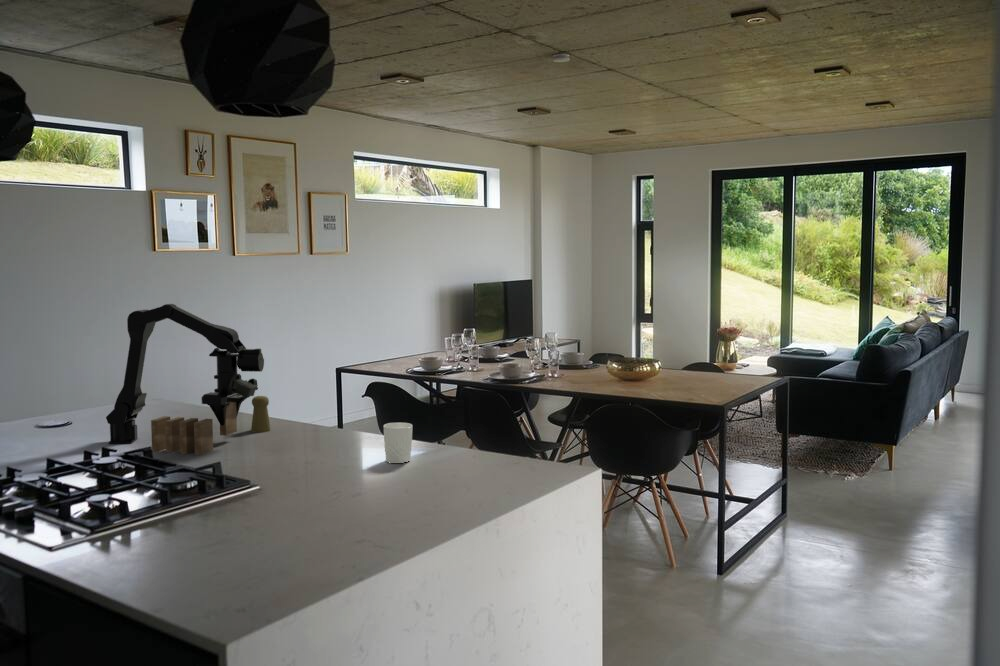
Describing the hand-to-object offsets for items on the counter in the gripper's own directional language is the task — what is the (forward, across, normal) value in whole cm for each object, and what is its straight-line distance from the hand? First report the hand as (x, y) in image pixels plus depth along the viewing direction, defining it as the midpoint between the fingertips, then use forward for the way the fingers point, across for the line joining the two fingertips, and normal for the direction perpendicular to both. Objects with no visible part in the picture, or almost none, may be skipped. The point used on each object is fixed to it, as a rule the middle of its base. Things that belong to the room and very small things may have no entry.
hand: (228, 423), depth 238 cm
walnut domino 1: (+6, -12, +14) cm, 20 cm away
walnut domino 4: (+6, -12, 0) cm, 14 cm away
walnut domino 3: (+6, -12, +5) cm, 15 cm away
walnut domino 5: (+3, 0, 0) cm, 3 cm away
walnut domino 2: (+6, -12, +9) cm, 17 cm away
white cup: (+6, -8, -56) cm, 57 cm away
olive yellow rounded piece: (+6, +17, -1) cm, 18 cm away
